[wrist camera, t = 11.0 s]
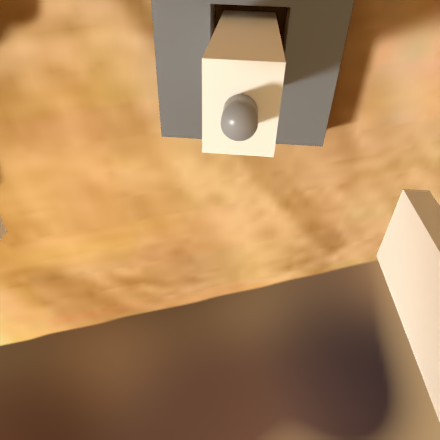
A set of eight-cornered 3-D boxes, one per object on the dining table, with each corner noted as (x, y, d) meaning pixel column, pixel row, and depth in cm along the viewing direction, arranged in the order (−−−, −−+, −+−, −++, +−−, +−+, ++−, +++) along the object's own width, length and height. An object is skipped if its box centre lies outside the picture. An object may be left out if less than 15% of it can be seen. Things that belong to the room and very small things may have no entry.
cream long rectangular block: (221, 76, 32) (198, 166, 19) (223, 10, 29) (197, 67, 16) (268, 78, 31) (274, 171, 19) (275, 12, 28) (288, 72, 16)
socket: (168, 122, 35) (161, 137, 32) (156, -66, 26) (145, -66, 23) (318, 131, 34) (322, 147, 31) (356, -59, 25) (367, -58, 23)
